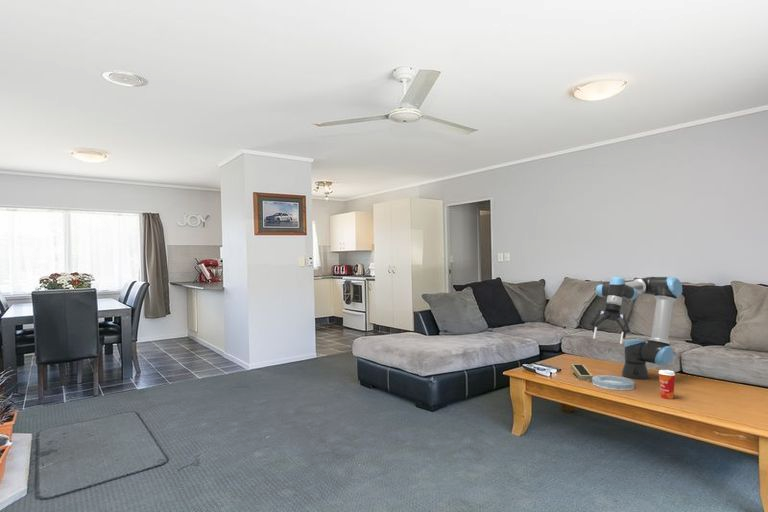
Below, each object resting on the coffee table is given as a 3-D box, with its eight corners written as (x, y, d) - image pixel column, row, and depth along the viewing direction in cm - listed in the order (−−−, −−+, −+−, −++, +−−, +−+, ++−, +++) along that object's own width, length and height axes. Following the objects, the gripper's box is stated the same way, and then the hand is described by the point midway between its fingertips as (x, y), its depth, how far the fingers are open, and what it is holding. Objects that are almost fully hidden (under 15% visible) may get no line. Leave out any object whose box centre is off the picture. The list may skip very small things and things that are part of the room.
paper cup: (655, 395, 237) (655, 369, 237) (669, 395, 236) (669, 369, 237) (664, 399, 229) (663, 372, 229) (679, 399, 229) (678, 373, 229)
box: (582, 370, 286) (582, 363, 285) (596, 386, 264) (596, 378, 263) (569, 370, 287) (569, 363, 286) (581, 385, 264) (582, 378, 264)
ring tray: (612, 379, 271) (612, 374, 271) (643, 388, 250) (643, 383, 250) (584, 381, 264) (583, 376, 264) (613, 391, 243) (613, 386, 243)
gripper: (588, 299, 252) (582, 335, 249) (638, 307, 237) (631, 345, 234) (591, 301, 258) (584, 337, 255) (639, 309, 243) (633, 347, 240)
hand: (607, 341), depth 245 cm, fingers open, 13 cm apart
